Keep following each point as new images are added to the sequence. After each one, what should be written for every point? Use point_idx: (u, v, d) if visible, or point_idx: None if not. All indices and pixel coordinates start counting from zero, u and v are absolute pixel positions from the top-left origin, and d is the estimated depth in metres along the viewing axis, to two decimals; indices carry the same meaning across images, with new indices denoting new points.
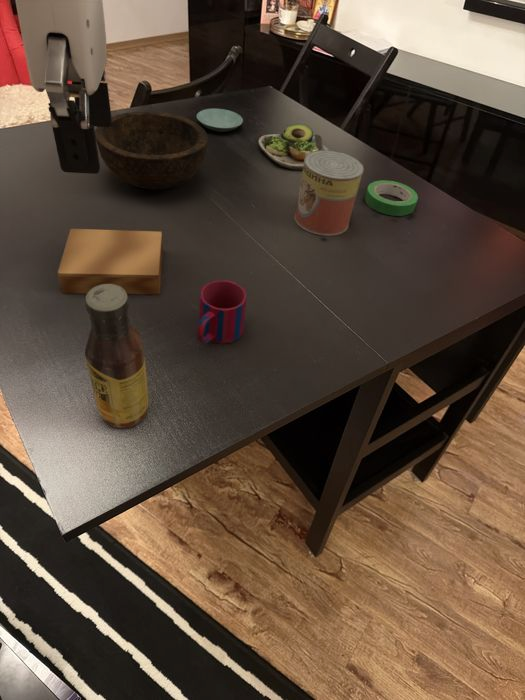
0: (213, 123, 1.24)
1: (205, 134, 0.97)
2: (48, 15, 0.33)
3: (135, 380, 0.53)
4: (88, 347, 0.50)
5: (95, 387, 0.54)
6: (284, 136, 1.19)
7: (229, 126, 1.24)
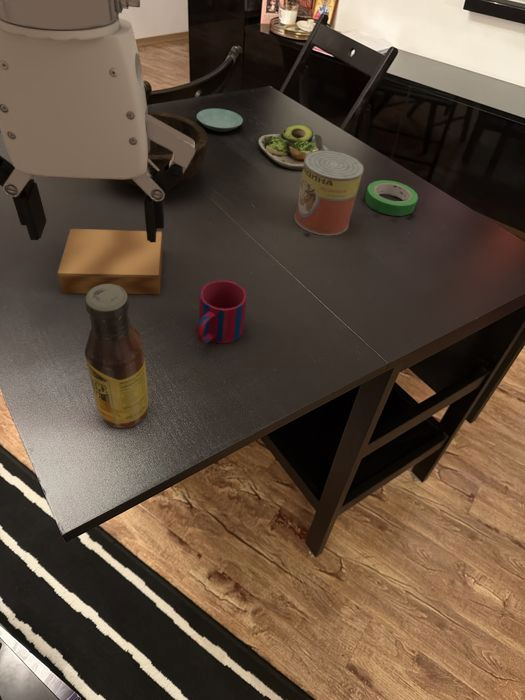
0: (213, 123, 1.24)
1: (205, 134, 0.97)
2: None
3: (135, 380, 0.53)
4: (88, 347, 0.50)
5: (95, 387, 0.54)
6: (284, 136, 1.19)
7: (229, 126, 1.24)
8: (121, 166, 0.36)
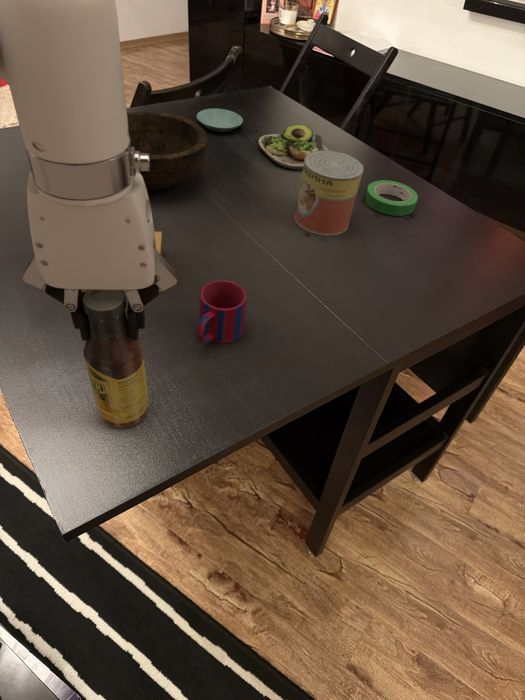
0: (213, 123, 1.24)
1: (205, 134, 0.97)
2: None
3: (134, 380, 0.53)
4: (86, 347, 0.50)
5: (94, 387, 0.54)
6: (284, 136, 1.19)
7: (229, 126, 1.24)
8: (133, 281, 0.44)
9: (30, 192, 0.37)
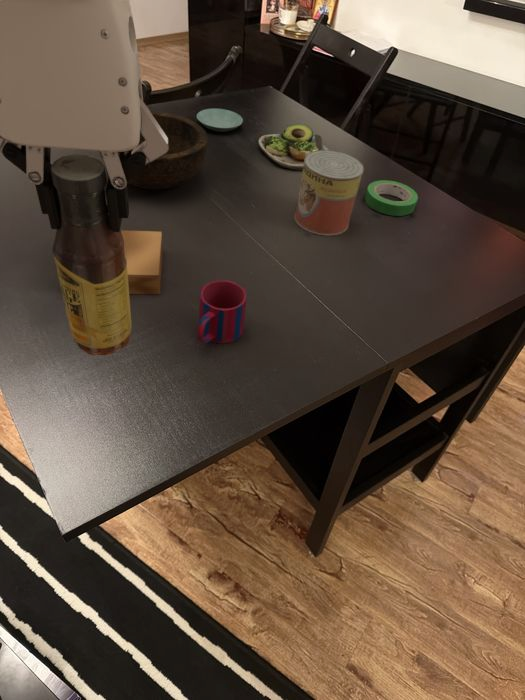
0: (213, 123, 1.24)
1: (205, 134, 0.97)
2: None
3: (114, 289, 0.44)
4: (56, 240, 0.41)
5: (66, 297, 0.44)
6: (284, 136, 1.19)
7: (229, 126, 1.24)
8: (112, 137, 0.34)
9: None
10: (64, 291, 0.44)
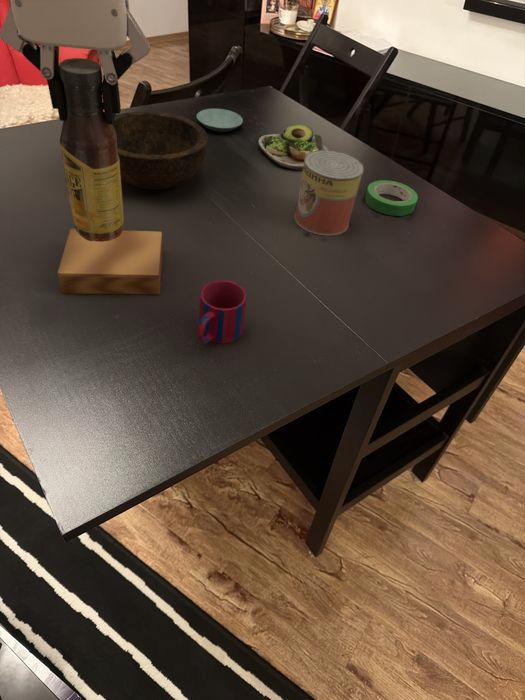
0: (213, 123, 1.24)
1: (205, 134, 0.97)
2: None
3: (108, 176, 0.55)
4: (62, 130, 0.52)
5: (69, 183, 0.55)
6: (284, 136, 1.19)
7: (229, 126, 1.24)
8: (105, 36, 0.45)
9: None
10: (68, 178, 0.55)
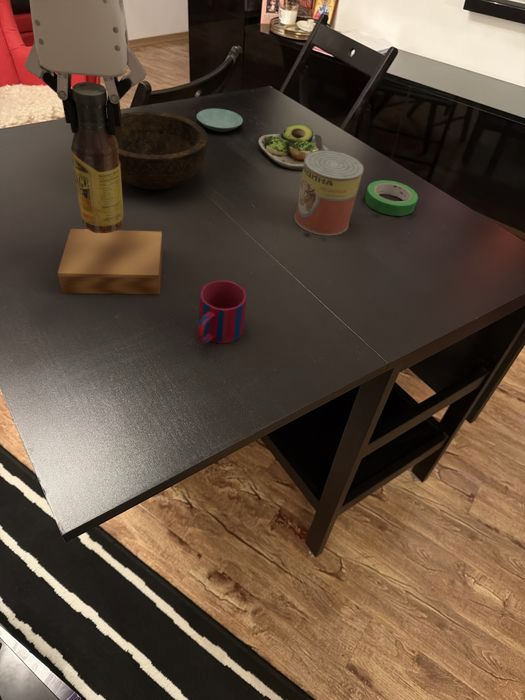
0: (213, 123, 1.24)
1: (205, 134, 0.97)
2: None
3: (111, 178, 0.66)
4: (74, 140, 0.63)
5: (79, 183, 0.66)
6: (284, 136, 1.19)
7: (229, 126, 1.24)
8: (110, 66, 0.56)
9: None
10: (78, 179, 0.66)
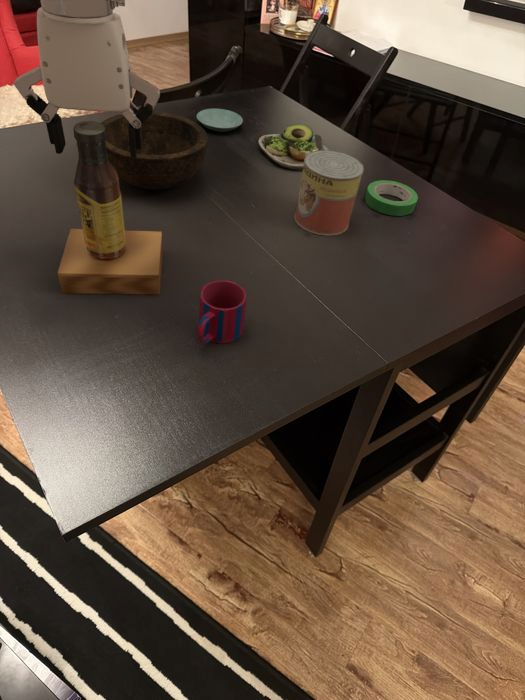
0: (213, 123, 1.24)
1: (205, 134, 0.97)
2: None
3: (113, 208, 0.69)
4: (76, 175, 0.66)
5: (82, 215, 0.70)
6: (284, 136, 1.19)
7: (229, 126, 1.24)
8: (114, 102, 0.59)
9: (39, 16, 0.52)
10: (81, 211, 0.69)
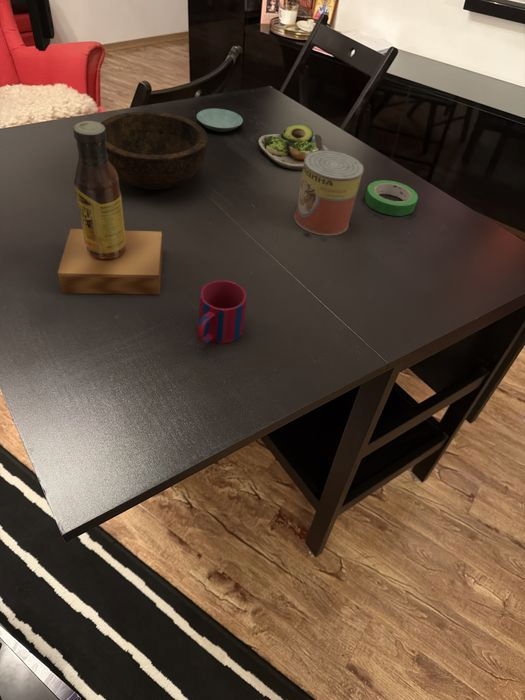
0: (213, 123, 1.24)
1: (205, 134, 0.97)
2: None
3: (113, 208, 0.69)
4: (76, 175, 0.66)
5: (82, 215, 0.70)
6: (284, 136, 1.19)
7: (229, 126, 1.24)
8: None
9: None
10: (81, 211, 0.69)
